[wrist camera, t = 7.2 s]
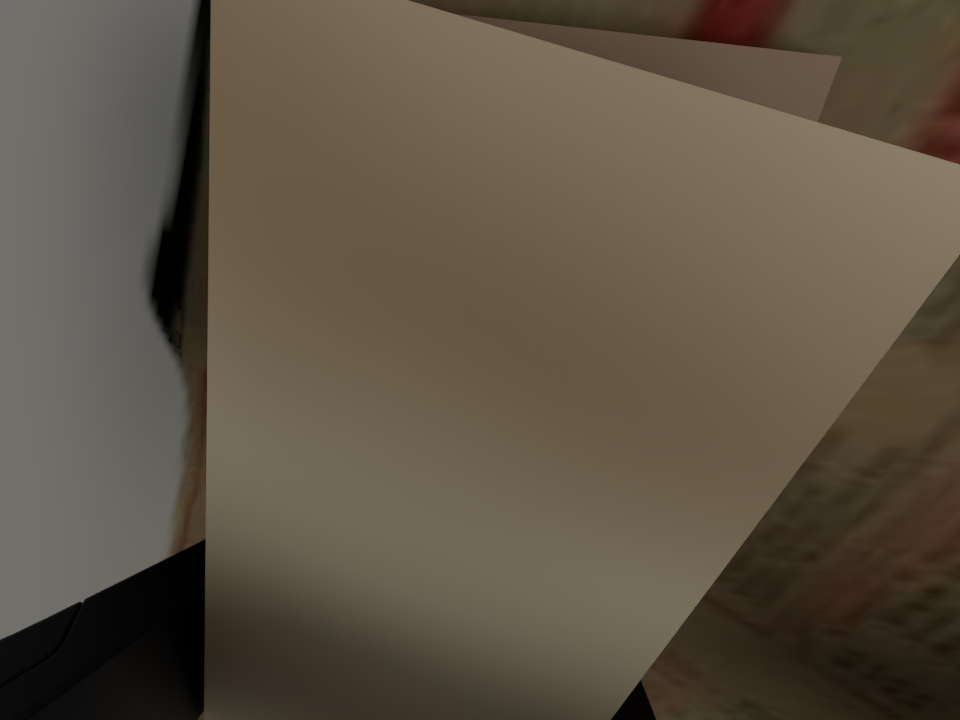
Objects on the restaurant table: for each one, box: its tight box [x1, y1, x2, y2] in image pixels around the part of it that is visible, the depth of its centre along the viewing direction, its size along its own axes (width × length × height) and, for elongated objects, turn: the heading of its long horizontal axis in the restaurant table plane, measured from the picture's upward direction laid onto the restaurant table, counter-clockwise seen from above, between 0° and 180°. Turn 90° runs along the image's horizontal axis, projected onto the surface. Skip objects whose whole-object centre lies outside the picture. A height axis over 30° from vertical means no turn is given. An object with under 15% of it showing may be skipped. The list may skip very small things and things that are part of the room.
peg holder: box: [456, 14, 842, 122], centre depth 16 cm, size 19×12×4 cm, turn 173°
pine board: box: [204, 0, 960, 720], centre depth 9 cm, size 16×5×4 cm, turn 165°
